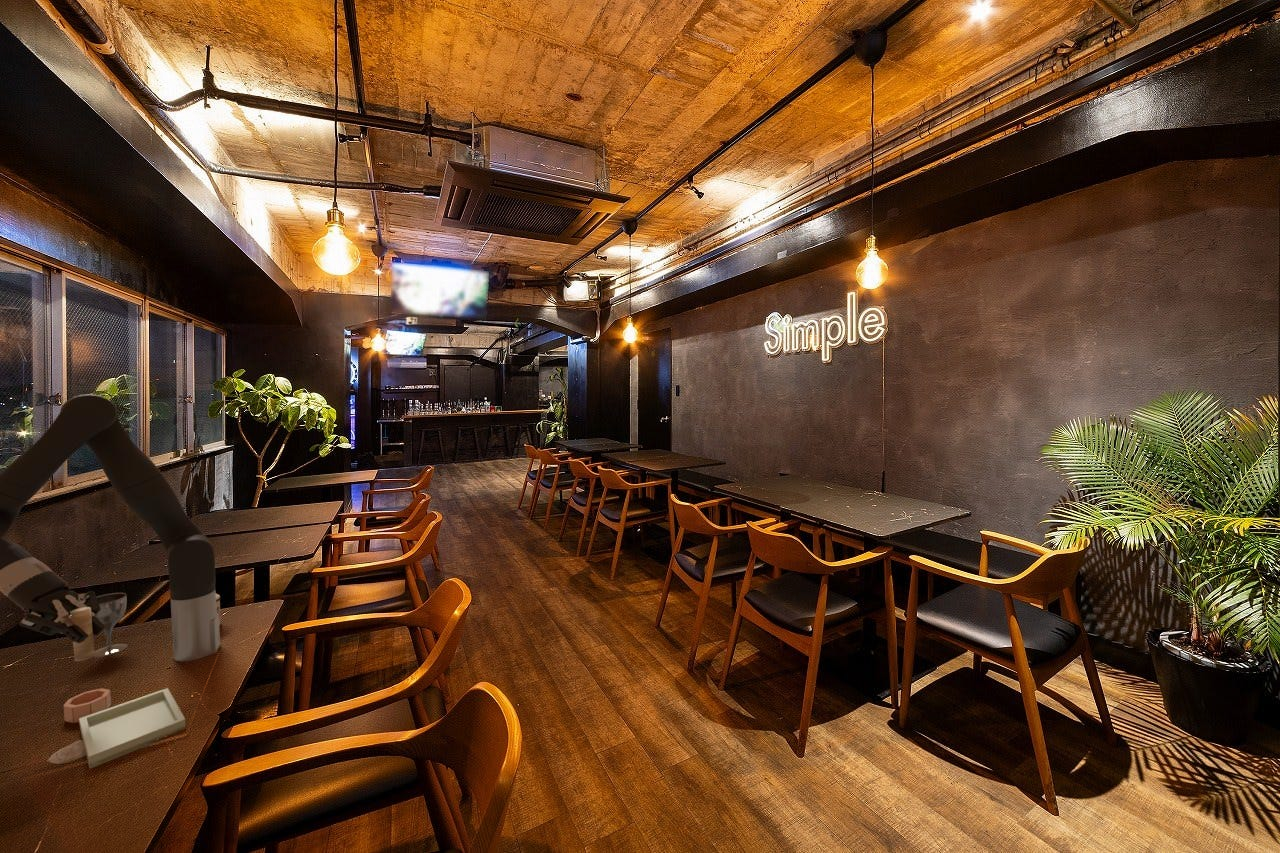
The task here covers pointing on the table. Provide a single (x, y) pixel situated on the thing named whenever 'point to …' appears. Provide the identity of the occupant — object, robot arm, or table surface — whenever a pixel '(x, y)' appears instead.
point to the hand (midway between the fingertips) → (92, 635)
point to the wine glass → (110, 620)
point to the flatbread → (69, 753)
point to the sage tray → (130, 726)
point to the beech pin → (84, 622)
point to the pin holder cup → (86, 704)
